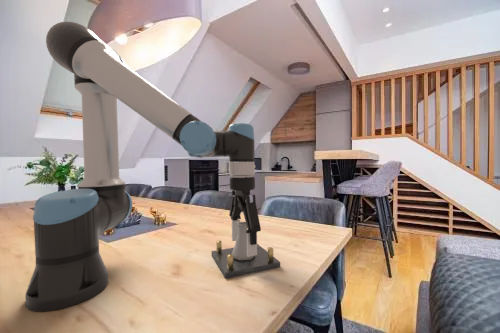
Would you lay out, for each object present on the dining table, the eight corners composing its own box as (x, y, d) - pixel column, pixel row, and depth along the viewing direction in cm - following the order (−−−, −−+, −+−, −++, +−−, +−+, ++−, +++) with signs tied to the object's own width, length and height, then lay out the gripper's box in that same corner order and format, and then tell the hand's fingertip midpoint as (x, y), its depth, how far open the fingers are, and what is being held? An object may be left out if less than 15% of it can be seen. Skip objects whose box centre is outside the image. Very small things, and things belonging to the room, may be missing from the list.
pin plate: (225, 278, 59) (224, 259, 59) (211, 255, 74) (211, 240, 73) (280, 267, 65) (280, 249, 65) (257, 248, 79) (257, 233, 79)
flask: (253, 262, 65) (252, 226, 65) (228, 260, 66) (227, 225, 66) (257, 252, 72) (256, 220, 72) (234, 251, 73) (234, 219, 73)
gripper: (272, 178, 59) (274, 261, 59) (240, 174, 82) (241, 233, 82) (245, 179, 56) (246, 266, 56) (219, 175, 79) (220, 236, 79)
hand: (243, 247), depth 69 cm, fingers open, 13 cm apart
